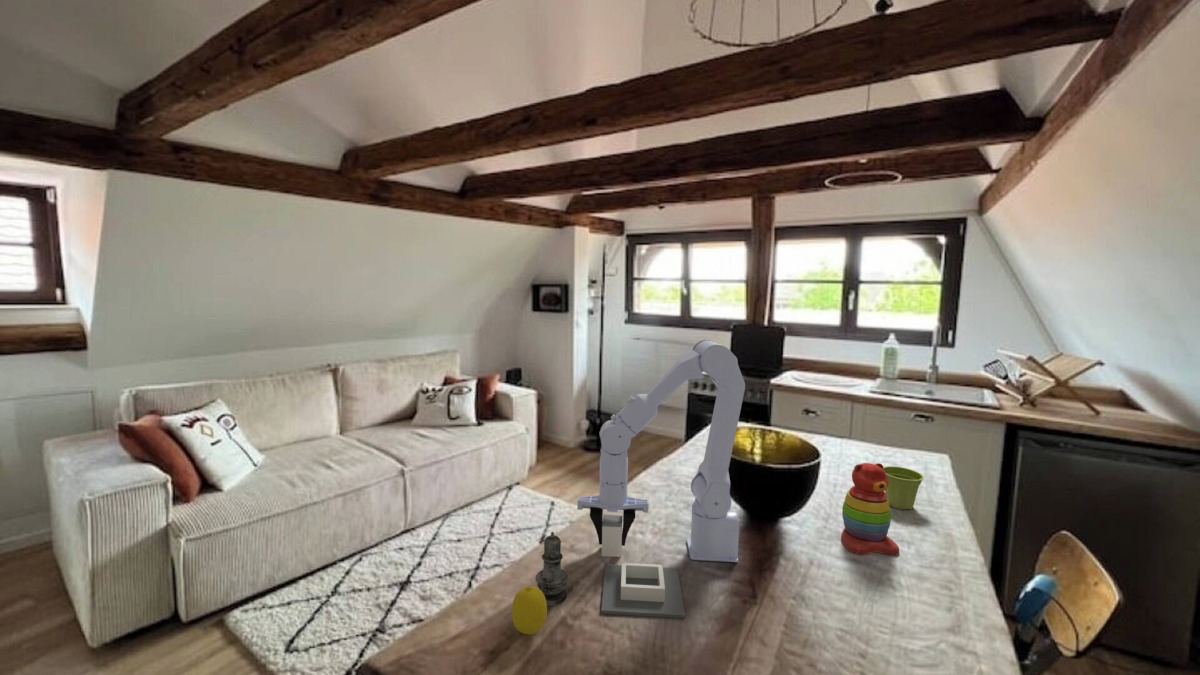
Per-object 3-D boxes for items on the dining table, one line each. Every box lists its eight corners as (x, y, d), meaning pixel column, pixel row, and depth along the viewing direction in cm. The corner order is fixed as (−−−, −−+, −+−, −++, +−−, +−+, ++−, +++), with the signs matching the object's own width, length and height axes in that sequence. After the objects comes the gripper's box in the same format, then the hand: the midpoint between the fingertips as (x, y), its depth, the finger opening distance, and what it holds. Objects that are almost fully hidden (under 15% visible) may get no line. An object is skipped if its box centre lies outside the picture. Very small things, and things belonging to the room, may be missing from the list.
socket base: (677, 571, 98) (678, 556, 98) (684, 618, 84) (685, 601, 84) (605, 567, 99) (605, 552, 99) (601, 613, 85) (601, 596, 85)
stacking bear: (852, 555, 105) (858, 472, 103) (829, 531, 115) (834, 456, 113) (903, 555, 105) (910, 473, 104) (876, 532, 115) (882, 456, 114)
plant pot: (921, 503, 132) (923, 471, 131) (920, 516, 124) (924, 482, 123) (880, 494, 136) (882, 463, 136) (877, 507, 129) (880, 474, 128)
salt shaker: (563, 608, 86) (564, 541, 85) (530, 603, 87) (530, 537, 86) (572, 588, 92) (573, 525, 91) (541, 584, 93) (541, 522, 92)
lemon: (513, 623, 82) (513, 576, 81) (547, 621, 83) (547, 575, 82) (510, 647, 77) (510, 597, 76) (546, 645, 77) (546, 596, 76)
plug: (621, 547, 107) (622, 515, 106) (621, 557, 103) (622, 524, 102) (602, 546, 107) (603, 514, 106) (601, 556, 103) (602, 523, 102)
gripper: (576, 485, 100) (575, 550, 101) (649, 488, 99) (647, 554, 100) (579, 472, 107) (578, 533, 108) (648, 475, 106) (646, 537, 107)
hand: (612, 542), depth 105 cm, fingers closed on plug, 4 cm apart
